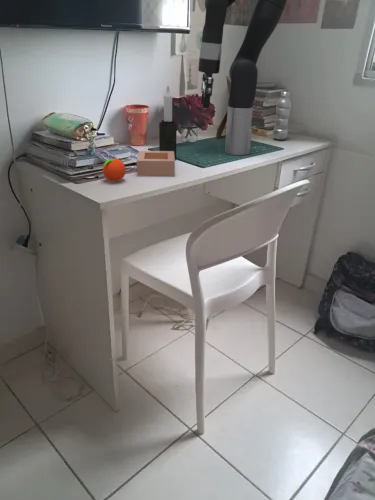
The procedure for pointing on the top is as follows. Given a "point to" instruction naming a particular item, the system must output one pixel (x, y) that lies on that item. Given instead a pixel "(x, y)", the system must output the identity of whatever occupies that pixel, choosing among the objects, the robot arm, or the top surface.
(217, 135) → the photo frame
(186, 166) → the top surface
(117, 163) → the clementine
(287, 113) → the plastic bottle
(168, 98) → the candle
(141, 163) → the holder block
